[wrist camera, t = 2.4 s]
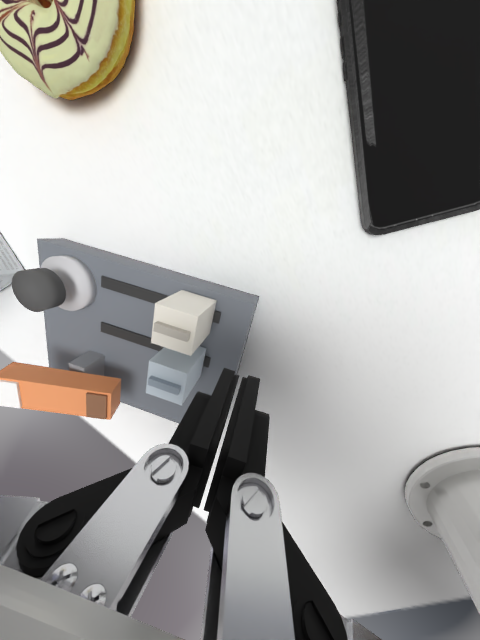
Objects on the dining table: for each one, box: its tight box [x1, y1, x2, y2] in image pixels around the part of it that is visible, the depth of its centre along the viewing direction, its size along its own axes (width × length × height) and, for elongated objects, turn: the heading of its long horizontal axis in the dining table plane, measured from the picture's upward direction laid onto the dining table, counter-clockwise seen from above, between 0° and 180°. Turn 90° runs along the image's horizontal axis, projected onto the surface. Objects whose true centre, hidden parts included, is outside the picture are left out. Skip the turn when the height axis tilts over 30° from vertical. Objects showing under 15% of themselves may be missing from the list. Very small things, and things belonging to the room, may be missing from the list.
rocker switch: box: [0, 362, 121, 420], centre depth 20 cm, size 9×3×2 cm, turn 76°
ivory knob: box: [151, 290, 217, 356], centre depth 17 cm, size 3×3×4 cm
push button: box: [12, 268, 66, 312], centre depth 18 cm, size 3×3×2 cm
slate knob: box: [146, 346, 206, 406], centre depth 19 cm, size 3×3×4 cm
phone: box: [337, 0, 480, 235], centre depth 14 cm, size 8×1×15 cm
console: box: [37, 239, 259, 424], centre depth 22 cm, size 20×15×5 cm
